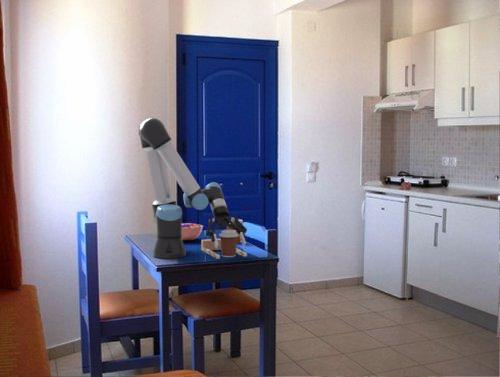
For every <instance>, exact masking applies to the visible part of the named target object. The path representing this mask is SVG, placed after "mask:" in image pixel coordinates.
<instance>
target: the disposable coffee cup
mask: <svg viewBox="0 0 500 377" xmlns="http://www.w3.org/2000/svg"><path fill="white" fill-rule="evenodd" d="M237 219H238V218H237ZM238 220H239V221H240V222H241V223H242V225H243V226H244V221H243V219H240V218H239V219H238ZM231 221H232V220H231ZM233 223H234V222H233ZM229 224H230V223H229ZM234 224H235V223H234ZM226 230H234V229H232V228H231V227H228V226H226ZM236 233H237V234H238V235H240V234H239V233H238V232H237V231H236ZM241 243H242V242H241V239H240V236H238V237H237V244H236V245H239V244H241Z"/></svg>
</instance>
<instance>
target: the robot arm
mask: <svg viewBox="0 0 500 377" xmlns="http://www.w3.org/2000/svg"><path fill="white" fill-rule="evenodd" d="M138 135H139V138H140V144H141V149H142V150H143V151H145V153H146V159H147V165H148V171H149V176H150V177H149V178H150V182H151V187H152V192H153V198H154V199H153V202H152V203H151V206H152V211H153V220H154V222H155V224H156V241H155V246H154V249H153V252H152V255H153V257H154V258H157V259H178V258H183V257H186V255H187V254H186V248H185V245H184V241H182V223H183V222H182V221H183V210H182V207H181V206H179V205H177V200H176V199H175V198H174V197H173V196H172V190H171V184H170V179H169V173H168V172H169V171H170V174H171V175H172V176H173V177H174V179H175V180H176V182H177V183H178V185H179V187H180V188H181V190H182V192H184V193H183V195H182V197H183V203H184V206H185V208H194V209H196V210H198V211H199V210H200V211H201V210H204V209H206V208H207V207H208V205H210V206H209V207H210V209H211V212H212V215H213V217H212V216H210V217H209V219H208V226H207V228H206V233H205V236H206V237H209V238H210V239H211V240H212V242H214V244H215V248H218V241H217V239H218V238H217V235H216V231H217V230H218V228H219V227H221V228H222V227H227V226H228V227H231V228H232V229H234V230H236V231H237V232H238V233H239V234H240V235H239V236H240V239H241V242H240V243H241V245H242V247H245V246H246V244H247V243H246V233H247V232H248V228H247V227H246V226H245V225H244V224H243V225H242V223H241V222H240V221H239V220H240V219H239V220H238V216H236V215H234V216H232V217H231V216H230V212H229V210H228V206H227V203H226V201H225V197H224V194H223V190H222V187H221V185H220V184H219V183H217V182H214V181H213V182H210V183H208V184H207V185H206V186H205V188H203V189H201V186H200V185H199V184H198V182H197V180H196V179H195V177H194V176H193V174H192V173H191V171H190V170H189V168H188V167H187V166H188V165H186V163H185V162H184V160H183V158H182V157H181V156H180V154H179V153H178V151H177V149H176V148H175V147H174V146H175V145H173V143H172V141H173V140H172V138H171V135H169V133H168V131H167V128H166V127H165V124H164V123H163V122H162V121H161V120H160V119H158V118H155V117H151V118H147V119H146V118H145V119H144V120H143V121H142V122H141V123H140V125H139V126H138ZM168 169H169V171H168ZM231 220H232V221H231ZM233 222H234V223H235V224H234V223H233ZM214 223H215V226H214V227H213V228H212V224H214ZM229 223H230V224H229ZM211 228H212V230H211Z"/></svg>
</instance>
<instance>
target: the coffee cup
mask: <svg viewBox="0 0 500 377" xmlns="http://www.w3.org/2000/svg"><path fill="white" fill-rule="evenodd" d="M238 236H239V235H238V234H237V233H236V230H227V229H222V230H221V232H220V233H219V234H218V237H219V239H221V250H220V251H221V257H223V258H234V257H235V258H236V257H237V256H236V255H237V253H236V248H237V245H238V244H237V237H238Z"/></svg>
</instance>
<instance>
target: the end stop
mask: <svg viewBox="0 0 500 377" xmlns="http://www.w3.org/2000/svg"><path fill="white" fill-rule="evenodd" d="M200 240H201V242H200V243H201V246H200V247H201V249H200V250H201V251H202V252H204V251H203V248H208V249H209V250H211V251H222V250H221V238H217V241H218V248H215V244H214V242H212V240H211V238H210V239H200Z"/></svg>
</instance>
